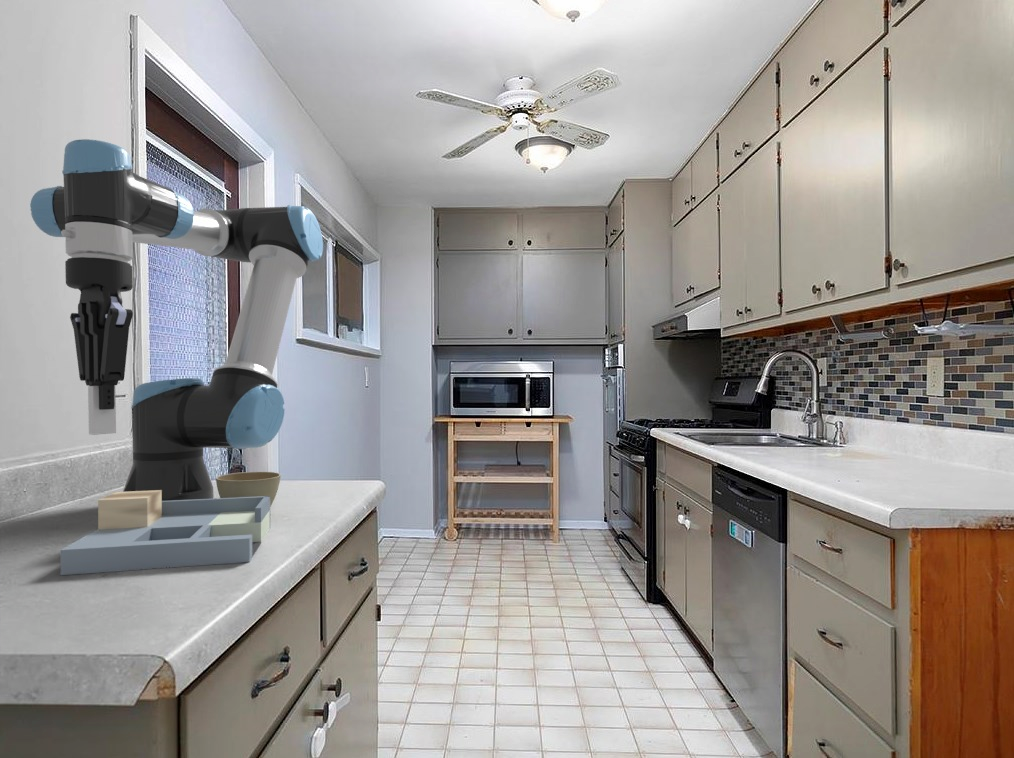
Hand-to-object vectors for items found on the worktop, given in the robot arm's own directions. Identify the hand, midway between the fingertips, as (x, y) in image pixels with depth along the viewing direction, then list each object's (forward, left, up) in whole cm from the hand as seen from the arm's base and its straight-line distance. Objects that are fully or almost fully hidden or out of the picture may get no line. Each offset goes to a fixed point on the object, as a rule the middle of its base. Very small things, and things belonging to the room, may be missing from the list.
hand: (102, 433), depth 81 cm
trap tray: (+1, +10, -16) cm, 19 cm away
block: (-3, +3, -13) cm, 14 cm away
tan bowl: (-16, +16, -16) cm, 28 cm away
